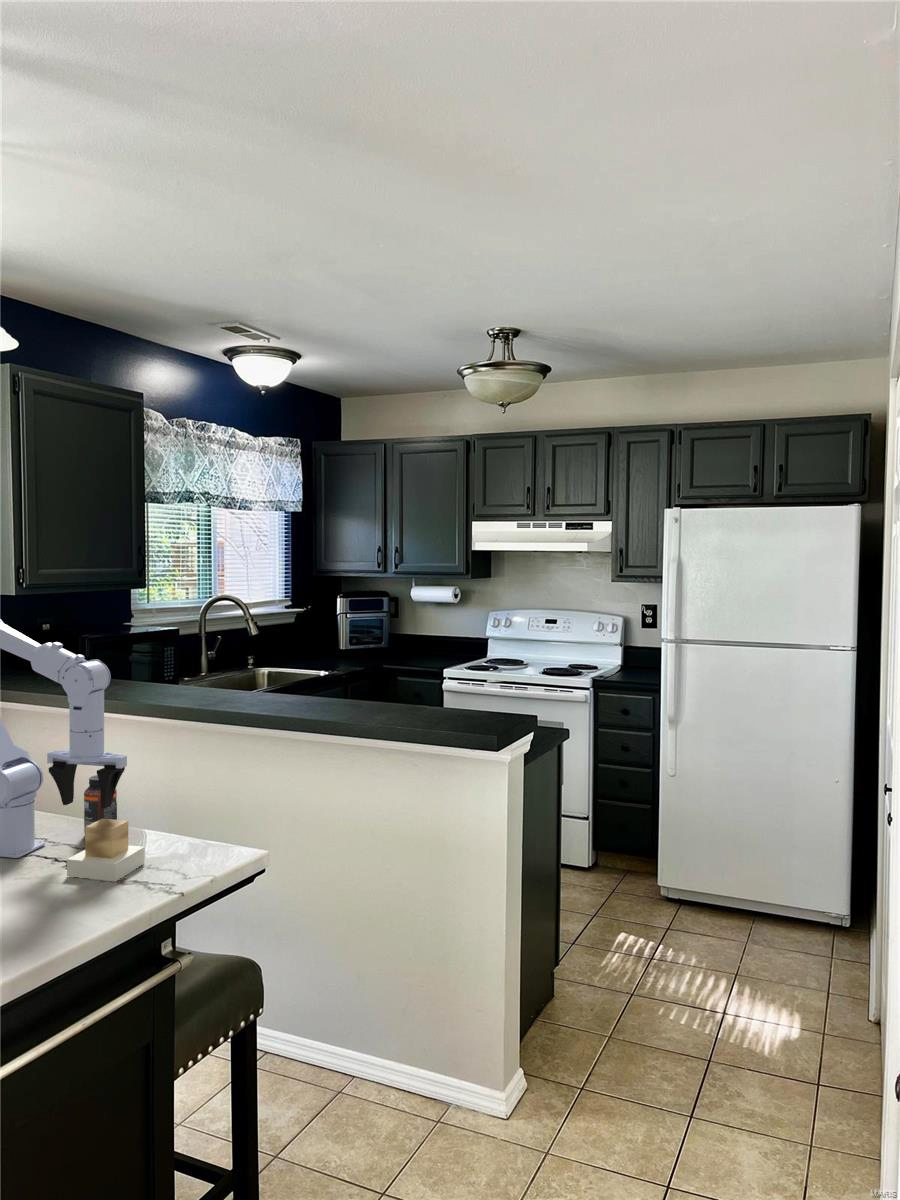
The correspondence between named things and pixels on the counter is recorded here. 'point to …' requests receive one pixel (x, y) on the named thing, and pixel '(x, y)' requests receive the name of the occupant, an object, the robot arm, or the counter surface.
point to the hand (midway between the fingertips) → (87, 805)
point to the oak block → (106, 838)
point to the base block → (106, 865)
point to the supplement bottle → (97, 804)
